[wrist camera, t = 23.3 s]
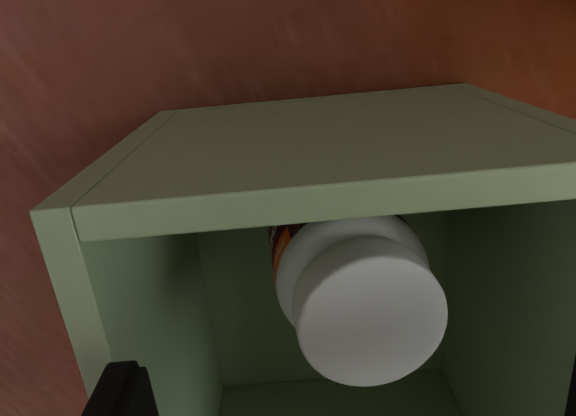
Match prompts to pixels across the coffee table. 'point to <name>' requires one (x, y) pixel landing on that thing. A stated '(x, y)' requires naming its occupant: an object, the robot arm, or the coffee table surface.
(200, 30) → the coffee table surface
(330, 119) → the chest
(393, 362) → the pill bottle
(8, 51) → the coffee table surface
